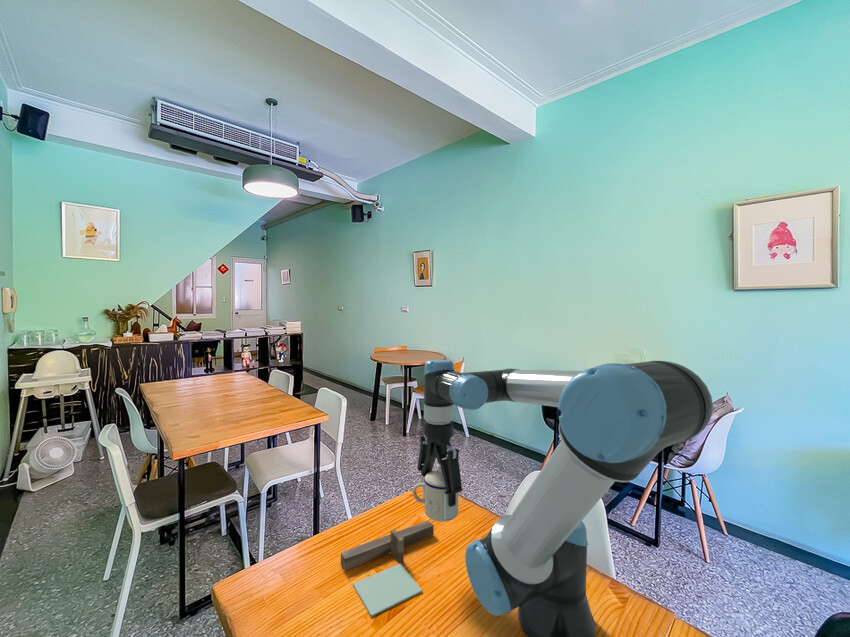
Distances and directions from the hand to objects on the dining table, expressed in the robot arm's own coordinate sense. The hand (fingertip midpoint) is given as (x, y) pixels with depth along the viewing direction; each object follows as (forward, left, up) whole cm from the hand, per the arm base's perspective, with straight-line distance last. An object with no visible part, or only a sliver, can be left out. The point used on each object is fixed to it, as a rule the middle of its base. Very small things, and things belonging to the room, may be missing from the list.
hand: (438, 508), depth 90 cm
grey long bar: (+10, +7, -15) cm, 20 cm away
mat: (+1, +14, -15) cm, 21 cm away
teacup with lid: (+1, 0, -2) cm, 2 cm away
